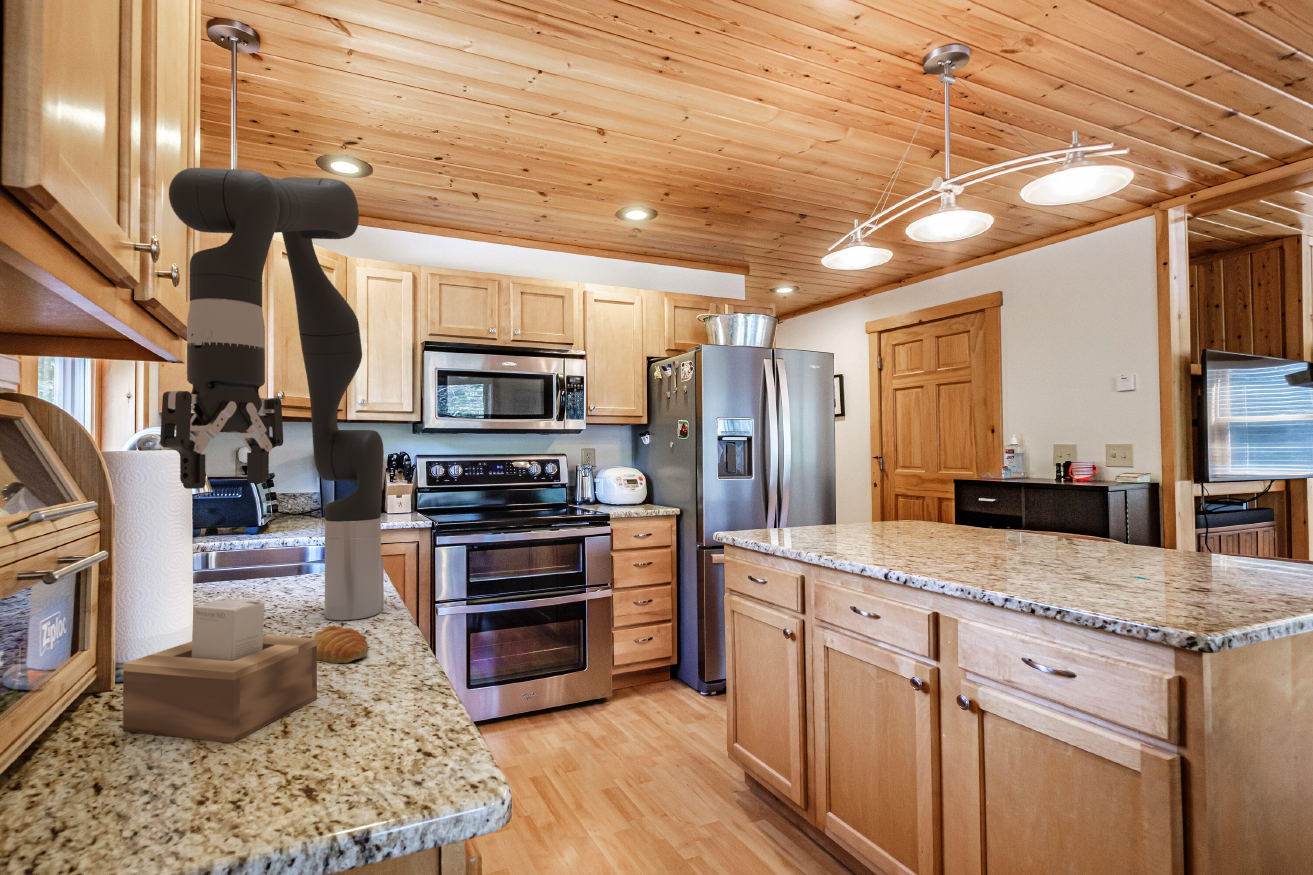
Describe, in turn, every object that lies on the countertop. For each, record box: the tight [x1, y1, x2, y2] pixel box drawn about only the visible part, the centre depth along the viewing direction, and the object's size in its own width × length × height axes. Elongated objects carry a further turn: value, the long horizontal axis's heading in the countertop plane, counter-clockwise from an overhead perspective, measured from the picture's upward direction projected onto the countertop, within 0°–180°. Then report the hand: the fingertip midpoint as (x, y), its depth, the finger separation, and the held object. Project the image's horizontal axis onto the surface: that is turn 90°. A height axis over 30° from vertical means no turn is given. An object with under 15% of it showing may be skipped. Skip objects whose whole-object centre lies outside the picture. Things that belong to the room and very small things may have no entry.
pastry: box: [312, 625, 369, 664], centre depth 96 cm, size 9×7×4 cm
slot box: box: [122, 634, 318, 744], centre depth 75 cm, size 12×14×7 cm
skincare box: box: [191, 597, 265, 661], centre depth 75 cm, size 6×4×12 cm
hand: (227, 485), depth 76 cm, fingers open, 8 cm apart
